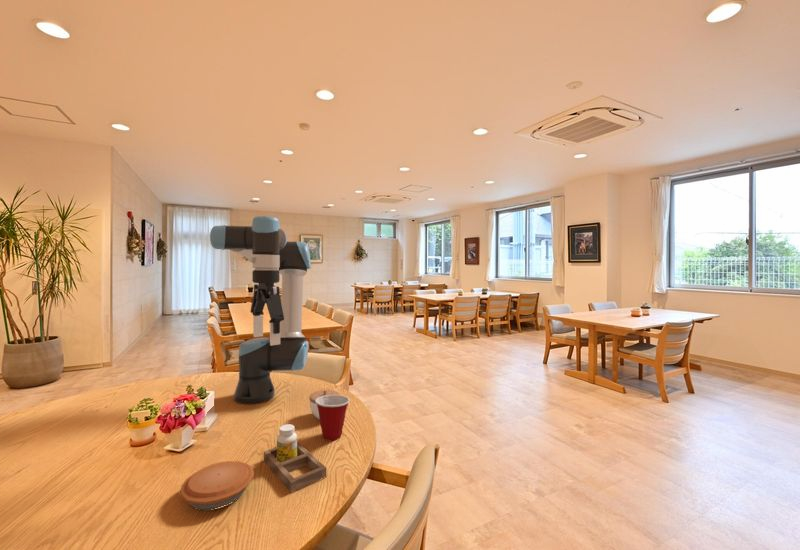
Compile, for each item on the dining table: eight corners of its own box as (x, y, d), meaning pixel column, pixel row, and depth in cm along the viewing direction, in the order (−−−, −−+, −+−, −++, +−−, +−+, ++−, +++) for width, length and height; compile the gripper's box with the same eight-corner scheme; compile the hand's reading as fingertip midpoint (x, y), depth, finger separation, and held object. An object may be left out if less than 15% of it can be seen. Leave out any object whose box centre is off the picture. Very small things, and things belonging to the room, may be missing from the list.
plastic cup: (355, 430, 116) (355, 394, 116) (339, 447, 106) (339, 407, 106) (326, 425, 120) (326, 390, 119) (308, 440, 110) (308, 402, 109)
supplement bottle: (300, 458, 100) (301, 424, 100) (289, 468, 95) (289, 433, 95) (284, 454, 102) (284, 421, 101) (272, 464, 97) (272, 430, 96)
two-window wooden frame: (263, 460, 99) (263, 451, 99) (296, 448, 105) (296, 440, 105) (291, 492, 85) (291, 482, 85) (326, 477, 91) (326, 467, 91)
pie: (174, 526, 74) (174, 503, 74) (186, 483, 88) (186, 463, 88) (254, 507, 80) (254, 485, 80) (253, 469, 95) (253, 451, 94)
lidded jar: (343, 410, 132) (343, 386, 131) (335, 424, 121) (335, 397, 121) (315, 409, 133) (315, 384, 132) (304, 422, 122) (304, 395, 122)
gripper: (239, 268, 112) (240, 334, 113) (269, 270, 93) (269, 350, 94) (263, 268, 117) (263, 332, 118) (296, 270, 98) (296, 346, 99)
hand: (266, 340), depth 106 cm, fingers open, 13 cm apart
